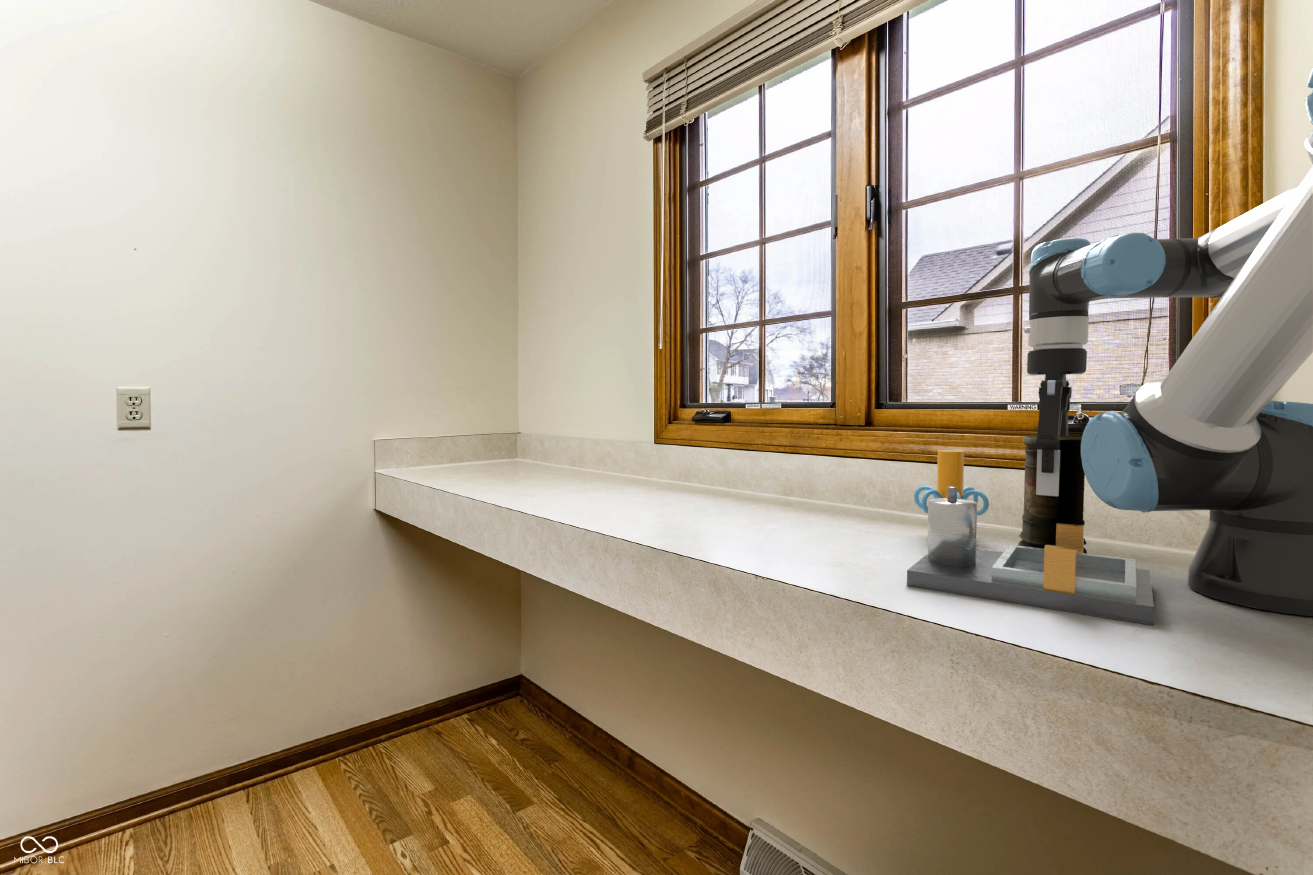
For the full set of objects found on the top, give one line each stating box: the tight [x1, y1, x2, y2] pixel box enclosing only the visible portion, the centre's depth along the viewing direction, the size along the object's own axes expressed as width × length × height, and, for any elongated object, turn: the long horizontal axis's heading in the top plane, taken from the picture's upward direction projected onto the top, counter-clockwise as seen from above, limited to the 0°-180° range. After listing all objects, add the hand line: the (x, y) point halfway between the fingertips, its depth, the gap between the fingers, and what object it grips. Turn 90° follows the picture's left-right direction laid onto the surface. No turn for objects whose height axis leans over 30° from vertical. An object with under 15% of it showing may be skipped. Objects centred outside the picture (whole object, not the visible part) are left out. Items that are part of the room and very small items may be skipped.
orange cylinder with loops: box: [913, 449, 990, 517], centre depth 107 cm, size 12×10×15 cm
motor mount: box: [906, 487, 1155, 626], centre depth 80 cm, size 25×17×12 cm
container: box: [1017, 434, 1088, 554], centre depth 95 cm, size 9×9×18 cm
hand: (1051, 489), depth 96 cm, fingers open, 13 cm apart
